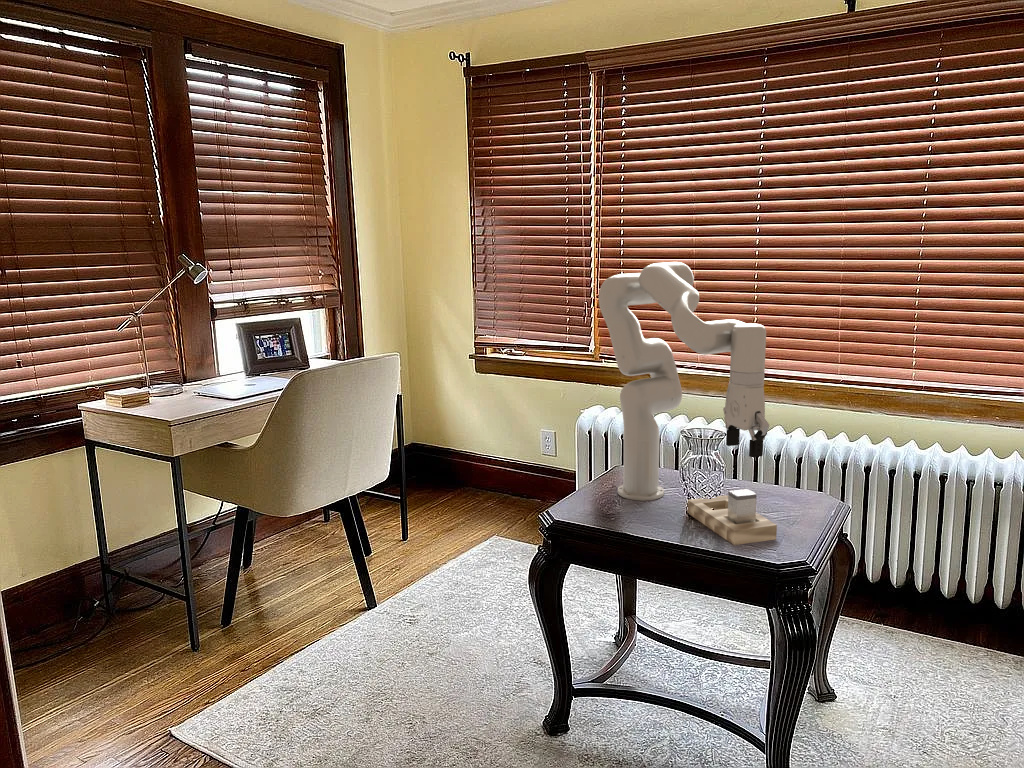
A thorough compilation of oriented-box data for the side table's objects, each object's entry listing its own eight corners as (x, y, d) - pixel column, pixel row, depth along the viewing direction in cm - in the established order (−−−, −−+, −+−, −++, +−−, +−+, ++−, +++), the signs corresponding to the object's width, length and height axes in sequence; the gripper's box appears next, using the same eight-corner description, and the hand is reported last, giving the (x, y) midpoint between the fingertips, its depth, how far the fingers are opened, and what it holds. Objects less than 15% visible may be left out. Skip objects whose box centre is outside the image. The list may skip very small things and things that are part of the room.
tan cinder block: (687, 513, 203) (687, 499, 202) (726, 508, 206) (726, 495, 205) (734, 545, 182) (734, 530, 181) (776, 539, 185) (776, 524, 184)
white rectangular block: (727, 531, 190) (728, 490, 188) (745, 528, 192) (747, 488, 190) (735, 537, 187) (737, 496, 185) (754, 534, 188) (756, 494, 186)
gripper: (712, 372, 189) (710, 442, 192) (753, 386, 173) (750, 462, 176) (740, 370, 191) (738, 440, 194) (783, 384, 175) (780, 459, 178)
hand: (743, 450), depth 185 cm, fingers open, 9 cm apart
